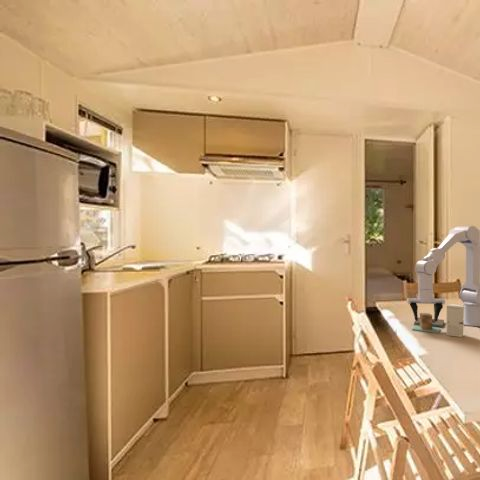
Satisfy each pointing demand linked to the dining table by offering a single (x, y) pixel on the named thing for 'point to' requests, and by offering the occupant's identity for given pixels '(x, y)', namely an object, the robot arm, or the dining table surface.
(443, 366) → the dining table surface
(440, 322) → the socket plate
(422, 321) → the brown block
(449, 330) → the skincare box
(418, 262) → the robot arm
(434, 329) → the mat
